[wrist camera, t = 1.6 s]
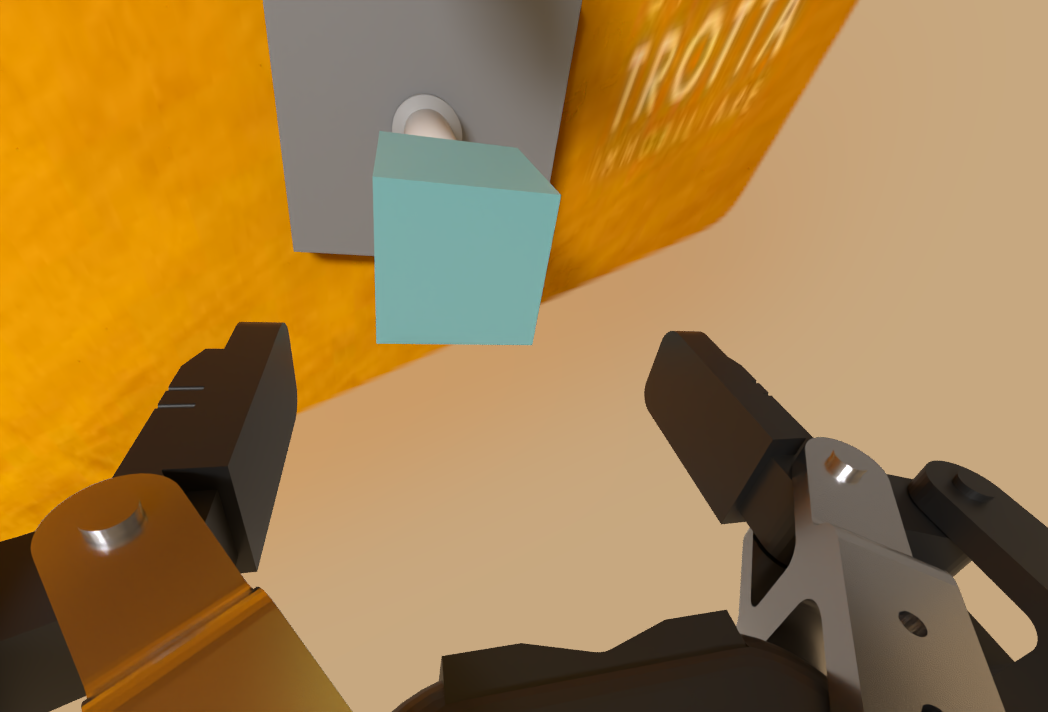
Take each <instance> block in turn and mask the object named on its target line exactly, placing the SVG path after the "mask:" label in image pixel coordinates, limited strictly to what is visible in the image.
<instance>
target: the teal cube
mask: <svg viewBox="0 0 1048 712" xmlns="http://www.w3.org/2000/svg"><path fill="white" fill-rule="evenodd" d="M560 198H561V194H560V193H559V192H558V191H557V190H556V189H555V188H554V187H553V186H552V185H551V184H550V182H549V181H548V180H547V179H546V178H545V177H544V176H543V175H542V174H541V173H540V172H539V171H538V170H537V168H536V167H535V166H534V165H533V164H532V163H531V162H530V161H529V160H528V159H527V158H526V157H525V155H524V154H523V153H522V152H521V151H520V150H519V149H518V148H515V147H507V146H499V145H490V144H482V143H474V142H466V141H458V140H450V139H442V138H434V137H425V136H417V135H409V134H401V133H393V132H385V131H380V132H379V138H378V145H377V151H376V157H375V164H374V170H373V217H374V259H375V300H376V342H377V343H378V344H480V345H481V344H482V345H487V344H488V345H532V343H533V338H534V333H535V327H536V322H537V317H538V312H539V307H540V302H541V296H542V291H543V286H544V281H545V276H546V271H547V265H548V260H549V255H550V250H551V245H552V239H553V234H554V229H555V224H556V219H557V214H558V208H559V203H560Z"/></svg>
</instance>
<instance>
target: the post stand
mask: <svg viewBox="0 0 1048 712" xmlns="http://www.w3.org/2000/svg"><path fill="white" fill-rule="evenodd" d="M581 4H582V0H263V5H264V13H265V21H266V29H267V37H268V45H269V54H270V62H271V70H272V78H273V86H274V94H275V102H276V110H277V118H278V127H279V135H280V143H281V151H282V159H283V167H284V175H285V183H286V191H287V200H288V208H289V216H290V224H291V232H292V240H293V248H294V251H295V252H313V253H331V254H348V255H366V256H374V217H373V170H374V164H375V157H376V151H377V145H378V138H379V132H380V131H385V132H393V133H401V134H409V135H417V136H425V137H434V138H442V139H450V140H458V141H466V142H474V143H482V144H490V145H499V146H507V147H515V148H518V149H519V150H520V151H521V152H522V153H523V154H524V155H525V157H526V158H527V159H528V160H529V161H530V162H531V163H532V164H533V165H534V166H535V167H536V168H537V170H538V171H539V172H540V173H541V174H542V175H543V176H544V177H545V178H546V179H547V180H548V181H549V182H550V178H551V173H552V167H553V161H554V156H555V150H556V144H557V139H558V133H559V128H560V122H561V116H562V111H563V105H564V99H565V94H566V88H567V83H568V77H569V71H570V66H571V60H572V54H573V49H574V43H575V37H576V32H577V26H578V21H579V15H580V9H581Z"/></svg>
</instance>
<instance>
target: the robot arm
mask: <svg viewBox="0 0 1048 712" xmlns="http://www.w3.org/2000/svg"><path fill="white" fill-rule="evenodd" d="M644 393H645V403H646V406H647V409H648V411H649V412H650V414H651V415H652V417H653V419H654V420H655V422H656V423H657V425H658V426H659V428H660V430H661V431H662V433H663V434H664V436H665V437H666V439H667V440H668V442H669V444H670V445H671V447H672V448H673V450H674V451H675V453H676V454H677V456H678V458H679V459H680V461H681V462H682V464H683V465H684V467H685V468H686V470H687V472H688V473H689V475H690V476H691V478H692V479H693V481H694V482H695V484H696V486H697V487H698V489H699V490H700V492H701V493H702V495H703V496H704V498H705V500H706V501H707V502H708V504H709V506H710V507H711V509H712V511H713V512H714V514H715V515H716V517H717V518H718V520H719V521H720V523H721V524H728V523H738V522H747V524H748V525H749V526H750V528H749V530H748V531H747V533H746V534H745V536H744V540H743V552H742V553H743V554H742V570H741V587H740V604H739V617H738V622H737V626H735V624H734V622H733V620H732V619H731V617H730V615H729V613H728V611H727V610H722V611H716V612H710V613H704V614H698V615H692V616H686V617H680V618H673V619H667V620H664V621H662V622H660V623H658V624H657V625H655V626H653V627H651V628H649V629H647V630H646V631H644V632H642V633H640V634H638V635H637V636H635V637H633V638H631V639H629V640H627V641H625V642H624V643H622V644H620V645H618V646H616V647H615V648H613V649H611V650H608V651H606V652H588V651H580V650H571V649H564V648H555V647H548V646H539V645H530V644H523V643H520V644H514V645H508V646H502V647H495V648H489V649H484V650H478V651H471V652H465V653H459V654H452V655H446V656H442V659H441V667H440V676H439V681H438V682H436V683H434V684H432V685H430V686H429V687H427V688H424V689H423V690H421V691H419V692H418V693H416V694H415V695H413V696H412V697H410V698H409V699H407V700H406V701H404V702H403V703H402V704H400V705H399V706H398V707H397V708H396V709H394V710H393V711H392V712H1048V528H1047V527H1046V526H1045V525H1044V524H1043V523H1041V522H1040V521H1039V520H1038V519H1036V518H1035V517H1034V516H1033V515H1032V514H1030V513H1029V512H1028V511H1027V510H1025V509H1024V508H1023V507H1022V506H1020V505H1019V504H1018V503H1017V502H1016V501H1014V500H1013V499H1012V498H1011V497H1010V496H1008V495H1007V494H1006V493H1005V492H1003V491H1002V490H1001V489H1000V488H998V487H997V486H996V485H994V484H993V483H991V482H990V481H989V480H987V479H985V478H984V477H982V476H980V475H979V474H977V473H975V472H973V471H971V470H969V469H967V468H964V467H961V466H959V465H956V464H953V463H949V462H945V461H932V462H929V463H928V464H926V466H925V467H924V468H923V469H922V470H921V471H920V472H919V473H918V475H917V476H916V477H915V478H914V479H908V478H903V477H899V476H894V475H888V474H886V473H885V471H884V470H883V469H882V468H881V467H880V466H879V465H878V464H877V463H876V462H875V461H874V460H873V459H871V458H870V457H869V456H868V455H866V454H865V453H863V452H862V451H860V450H858V449H857V448H855V447H853V446H851V445H848V444H846V443H844V442H842V441H838V440H835V439H831V438H825V437H816V438H813V437H812V436H811V435H810V434H809V433H808V432H807V431H806V430H805V429H804V428H803V427H802V426H801V425H800V424H799V423H798V422H797V421H796V420H795V419H794V418H793V417H792V416H791V415H790V414H789V413H788V412H787V411H786V410H785V409H784V408H783V407H782V406H781V405H780V404H779V403H778V402H777V401H776V400H775V399H774V398H773V397H772V396H768V392H767V391H766V390H765V389H764V388H763V387H762V386H761V385H760V384H759V383H756V380H755V379H754V378H753V377H752V376H751V375H750V374H749V373H748V372H747V371H746V370H745V369H744V368H743V367H742V366H741V365H740V364H738V363H737V362H735V361H734V360H732V359H730V358H729V357H727V356H726V355H725V354H724V353H723V352H722V351H721V350H720V349H719V348H718V346H716V344H715V343H714V342H712V340H710V338H709V337H708V336H707V335H706V334H704V333H702V332H694V331H670V332H668V333H667V334H666V335H665V336H664V337H663V339H662V342H661V344H660V347H659V350H658V352H657V355H656V358H655V361H654V363H653V366H652V369H651V371H650V374H649V377H648V379H647V382H646V386H645V392H644ZM296 412H297V388H296V381H295V374H294V367H293V360H292V353H291V346H290V339H289V333H288V328H287V326H286V324H285V323H270V322H239V323H238V324H237V326H236V327H235V329H234V331H233V333H232V335H231V337H230V339H229V341H228V343H227V345H226V346H225V348H224V349H205V350H203V351H202V352H200V353H199V354H198V355H196V356H195V357H193V358H192V359H191V360H189V361H188V362H186V363H185V364H184V365H182V366H181V368H180V369H179V371H178V372H177V374H176V376H175V377H174V379H173V380H172V382H171V384H170V385H169V391H166V392H165V393H164V395H163V397H162V398H161V400H160V401H159V403H158V409H154V411H153V413H152V414H151V416H150V418H149V419H148V421H147V422H146V424H145V426H144V427H143V429H142V430H141V432H140V434H139V435H138V437H137V439H136V440H135V442H134V443H133V445H132V447H131V448H130V450H129V451H128V453H127V455H126V456H125V458H124V460H123V461H122V463H121V464H120V466H119V468H118V469H117V471H116V472H115V474H114V476H113V477H112V478H111V479H107V480H104V481H101V482H99V483H96V484H93V485H91V486H89V487H87V488H85V489H83V490H81V491H79V492H77V493H75V494H74V495H72V496H70V497H69V498H67V499H66V500H64V501H63V502H62V503H60V504H59V505H58V506H57V507H55V508H54V509H53V510H52V511H51V512H50V513H49V514H48V515H47V516H46V517H45V518H44V519H43V520H42V522H41V523H40V525H39V526H38V528H37V529H36V531H34V532H31V533H28V534H25V535H22V536H19V537H16V538H12V539H9V540H5V541H1V542H0V712H49V711H52V710H54V709H56V708H58V707H61V706H63V705H65V704H68V703H70V702H72V701H75V700H77V699H80V698H82V697H84V696H87V699H86V700H85V701H83V702H82V705H81V709H82V712H353V711H352V710H351V709H350V707H349V706H348V704H346V702H345V700H344V699H343V698H342V696H341V695H340V693H339V692H338V691H337V689H336V688H335V686H334V685H333V684H332V682H331V681H330V680H329V678H328V677H327V675H326V674H325V673H324V671H323V670H322V668H321V667H320V666H319V664H318V663H317V661H316V660H315V659H314V657H313V656H312V654H311V653H310V652H309V650H308V649H307V647H306V646H305V645H304V643H303V642H302V640H301V639H300V638H299V636H298V635H297V634H296V632H295V631H294V629H293V628H292V627H291V625H290V624H289V622H288V621H287V620H286V618H285V617H284V615H283V614H282V613H281V611H280V610H279V609H278V607H277V606H276V604H275V603H274V602H273V601H272V599H271V598H270V597H269V596H268V594H267V593H266V592H265V591H264V590H263V589H261V588H260V587H256V588H254V589H253V588H251V587H250V585H249V584H248V583H247V582H246V580H245V579H244V578H243V576H242V575H241V573H248V572H257V570H258V566H259V562H260V558H261V554H262V550H263V546H264V542H265V538H266V534H267V530H268V526H269V522H270V518H271V514H272V510H273V506H274V502H275V498H276V494H277V491H278V486H279V483H280V478H281V475H282V470H283V467H284V462H285V459H286V455H287V451H288V447H289V443H290V439H291V435H292V431H293V427H294V423H295V419H296ZM971 561H973V562H974V563H975V564H976V565H977V566H978V567H979V568H980V569H981V570H982V571H983V572H984V573H985V574H986V575H987V576H988V577H989V578H990V579H991V580H992V581H993V582H994V583H995V584H996V585H997V586H998V587H999V588H1000V589H1001V590H1002V591H1003V592H1004V593H1005V594H1006V595H1007V596H1008V597H1009V598H1010V599H1011V600H1012V601H1013V602H1015V604H1016V605H1017V606H1018V607H1019V608H1020V609H1021V610H1022V611H1023V612H1024V613H1025V614H1026V615H1027V616H1028V617H1029V618H1030V620H1031V621H1032V623H1033V625H1034V626H1035V629H1036V631H1037V636H1038V642H1037V646H1036V647H1035V649H1034V650H1033V651H1031V652H1030V653H1028V654H1027V655H1025V656H1024V657H1022V658H1021V659H1019V660H1017V661H1016V662H1014V661H1013V660H1012V659H1011V658H1010V657H1009V655H1008V654H1007V653H1006V652H1005V651H1004V650H1003V649H1002V648H1001V647H1000V646H999V645H998V643H996V641H995V640H994V639H993V638H992V637H991V636H990V635H989V634H988V632H987V631H986V630H985V629H984V628H983V627H982V626H981V625H980V624H979V623H978V622H977V620H976V619H975V618H974V617H973V616H972V615H971V614H970V613H969V612H968V611H967V609H966V606H965V603H964V601H963V598H962V595H961V593H960V590H959V588H958V585H957V583H956V581H955V580H954V578H953V576H955V575H956V574H957V573H958V572H959V571H960V570H961V569H963V568H964V567H965V566H966V565H967V564H968V563H970V562H971Z"/></svg>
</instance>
